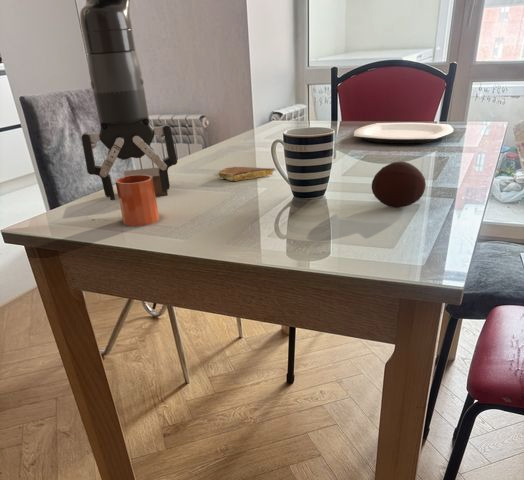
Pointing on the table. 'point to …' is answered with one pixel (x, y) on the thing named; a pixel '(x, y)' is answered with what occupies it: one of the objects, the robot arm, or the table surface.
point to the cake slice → (244, 173)
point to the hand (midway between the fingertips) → (138, 195)
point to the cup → (137, 200)
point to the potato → (398, 184)
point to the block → (151, 172)
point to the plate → (403, 132)
